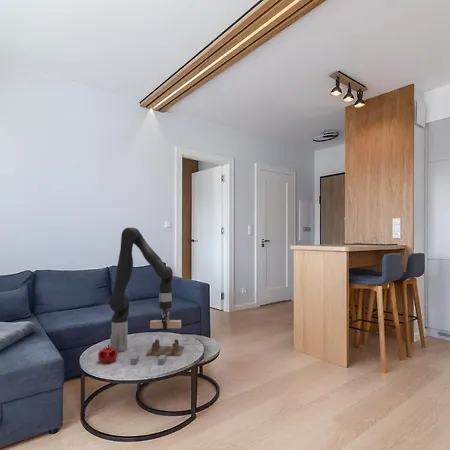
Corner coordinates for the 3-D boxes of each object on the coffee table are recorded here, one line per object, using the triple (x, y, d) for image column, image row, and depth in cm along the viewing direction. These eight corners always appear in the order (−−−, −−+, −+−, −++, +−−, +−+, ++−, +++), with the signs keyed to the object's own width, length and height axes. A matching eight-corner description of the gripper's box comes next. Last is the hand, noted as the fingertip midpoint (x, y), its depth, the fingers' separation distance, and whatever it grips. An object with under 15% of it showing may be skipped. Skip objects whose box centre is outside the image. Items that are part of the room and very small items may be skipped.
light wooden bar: (150, 328, 202) (150, 321, 202) (151, 326, 206) (151, 320, 206) (180, 328, 202) (180, 321, 202) (181, 326, 205) (181, 320, 205)
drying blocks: (130, 364, 184) (130, 358, 184) (133, 360, 190) (133, 354, 190) (163, 364, 183) (163, 359, 183) (165, 360, 189) (165, 355, 189)
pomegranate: (99, 359, 192) (99, 342, 192) (117, 357, 194) (117, 341, 194) (97, 365, 182) (97, 348, 182) (116, 363, 184) (116, 346, 185)
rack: (145, 355, 196) (146, 345, 197) (151, 347, 210) (151, 337, 211) (180, 355, 196) (180, 345, 196) (183, 347, 210) (183, 338, 210)
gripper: (161, 297, 211) (161, 325, 211) (156, 302, 197) (156, 332, 197) (173, 297, 211) (173, 325, 210) (169, 302, 197) (169, 332, 196)
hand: (165, 328), depth 203 cm, fingers closed on light wooden bar, 3 cm apart
